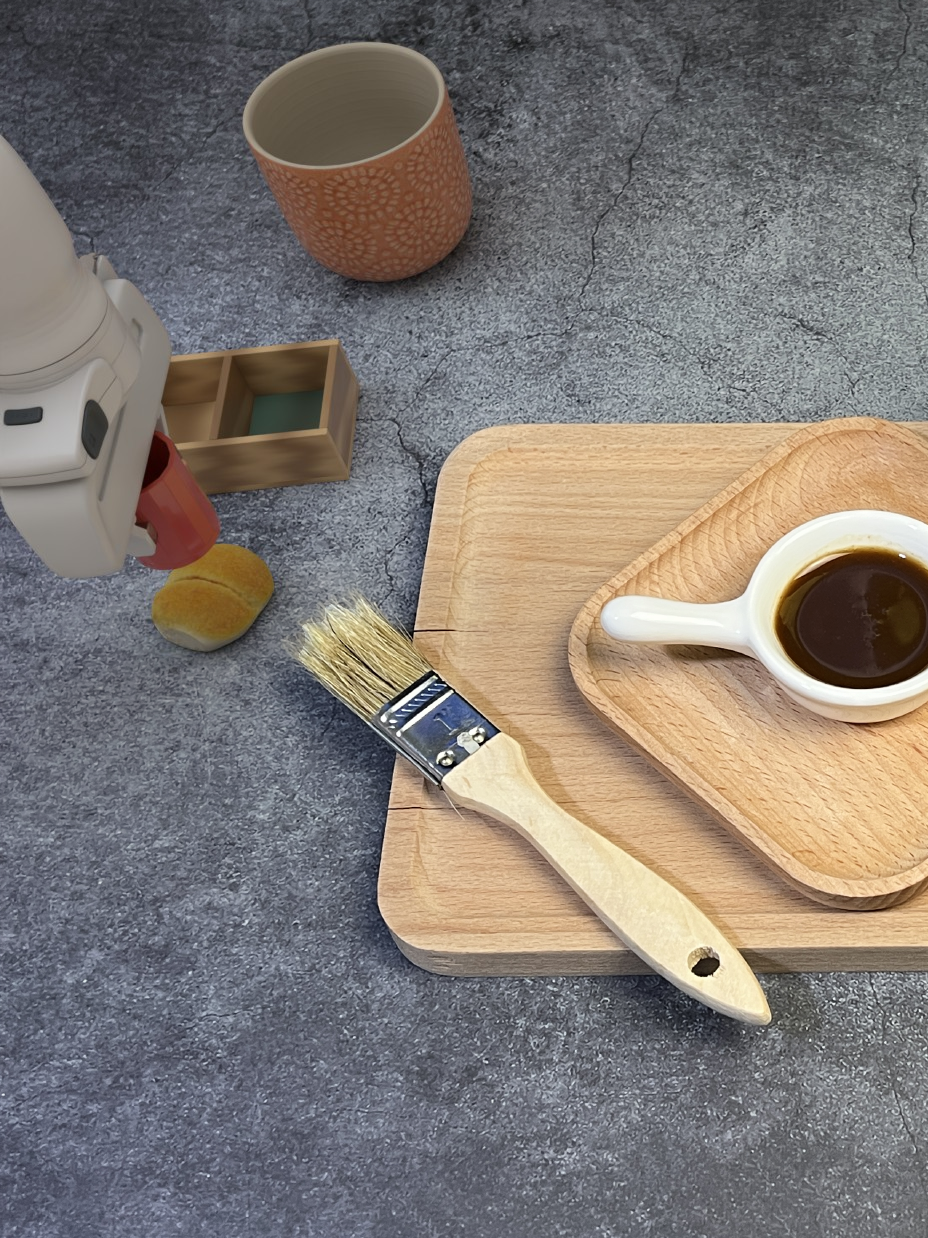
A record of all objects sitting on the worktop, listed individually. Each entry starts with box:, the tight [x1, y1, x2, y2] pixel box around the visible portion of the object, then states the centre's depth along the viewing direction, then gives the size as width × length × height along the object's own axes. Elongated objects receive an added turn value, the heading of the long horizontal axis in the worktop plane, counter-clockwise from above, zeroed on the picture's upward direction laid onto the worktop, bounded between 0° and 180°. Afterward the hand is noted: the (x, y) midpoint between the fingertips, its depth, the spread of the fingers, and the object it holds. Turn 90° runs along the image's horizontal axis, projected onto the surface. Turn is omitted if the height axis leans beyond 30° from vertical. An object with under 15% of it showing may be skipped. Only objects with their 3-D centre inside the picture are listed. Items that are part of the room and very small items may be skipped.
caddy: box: [161, 338, 361, 496], centre depth 124 cm, size 18×11×6 cm, turn 96°
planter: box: [241, 41, 473, 283], centre depth 133 cm, size 17×17×15 cm
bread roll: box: [150, 543, 275, 652], centre depth 115 cm, size 8×9×4 cm
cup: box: [134, 430, 221, 571], centre depth 100 cm, size 6×6×8 cm
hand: (155, 504), depth 100 cm, fingers closed on cup, 6 cm apart
